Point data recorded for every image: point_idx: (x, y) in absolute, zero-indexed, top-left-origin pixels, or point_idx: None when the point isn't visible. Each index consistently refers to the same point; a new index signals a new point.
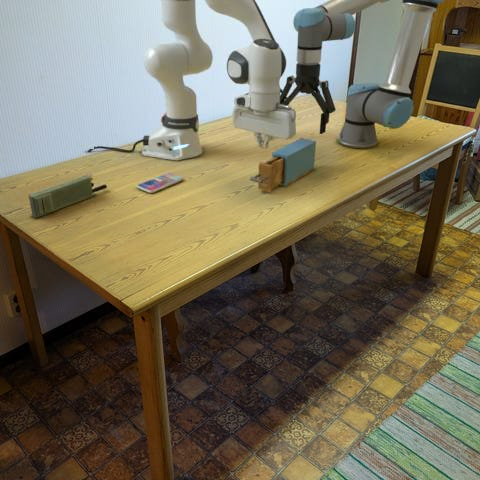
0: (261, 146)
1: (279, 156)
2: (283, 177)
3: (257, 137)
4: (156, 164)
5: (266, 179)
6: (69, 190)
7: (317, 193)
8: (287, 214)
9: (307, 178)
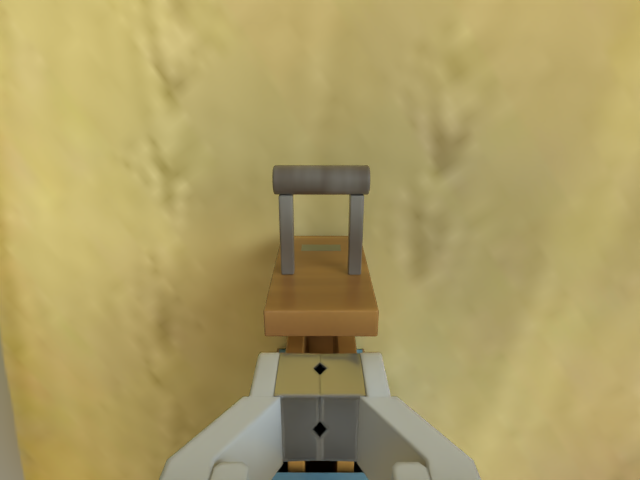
0: (316, 361)
1: (321, 475)
2: None
3: (404, 451)
4: None
5: (281, 236)
6: None
7: (120, 368)
8: (61, 79)
9: None
